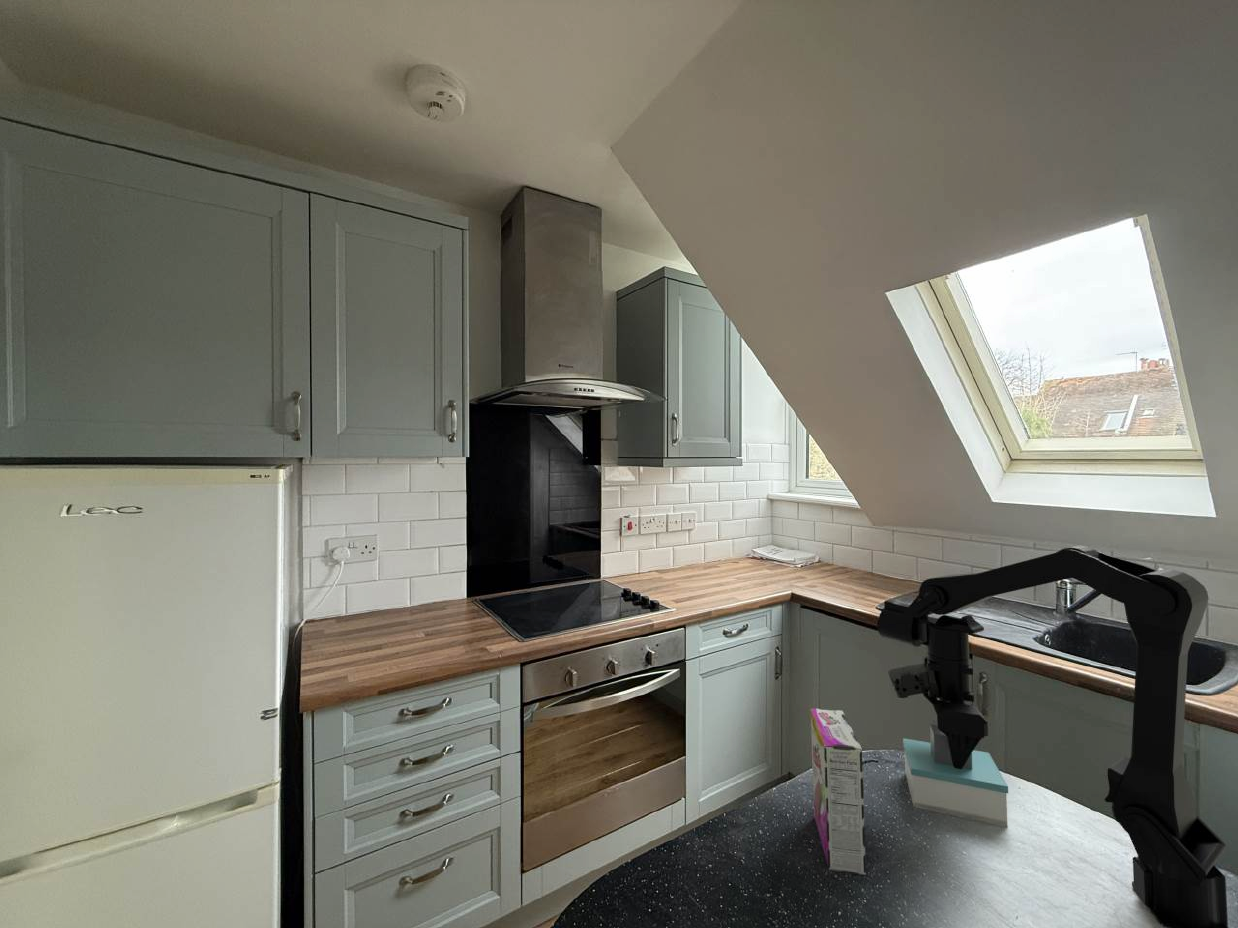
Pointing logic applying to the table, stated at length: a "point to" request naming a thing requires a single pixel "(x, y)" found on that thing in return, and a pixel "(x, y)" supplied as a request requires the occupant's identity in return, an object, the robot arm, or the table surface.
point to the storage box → (957, 799)
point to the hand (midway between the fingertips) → (951, 753)
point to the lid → (938, 764)
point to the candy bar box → (838, 791)
